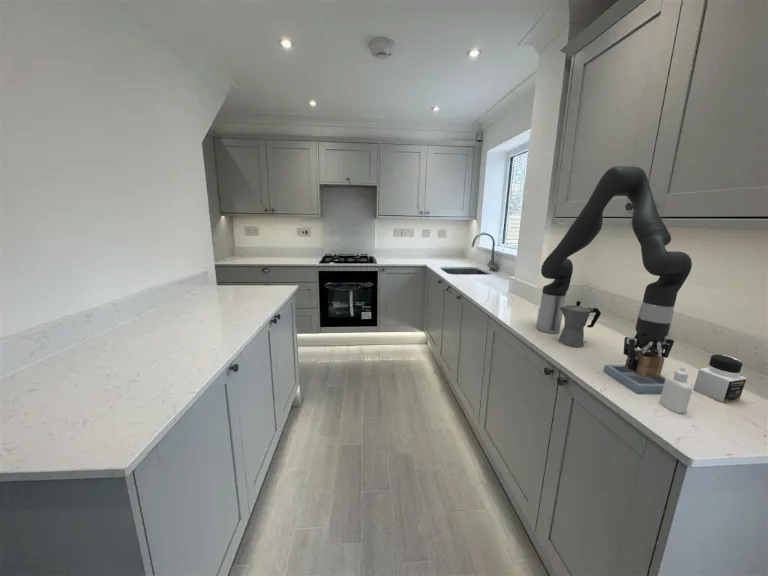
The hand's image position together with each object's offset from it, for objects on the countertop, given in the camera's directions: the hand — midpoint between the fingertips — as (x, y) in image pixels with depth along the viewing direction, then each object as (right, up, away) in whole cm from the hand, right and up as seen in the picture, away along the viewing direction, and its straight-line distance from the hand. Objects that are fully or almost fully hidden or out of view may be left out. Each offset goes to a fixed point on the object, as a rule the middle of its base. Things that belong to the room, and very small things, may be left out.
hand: (642, 369), depth 94 cm
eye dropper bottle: (-2, -8, -12) cm, 14 cm away
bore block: (0, -1, 0) cm, 1 cm away
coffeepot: (-2, +2, +30) cm, 30 cm away
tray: (0, -4, +1) cm, 4 cm away
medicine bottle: (+18, -7, -5) cm, 19 cm away
